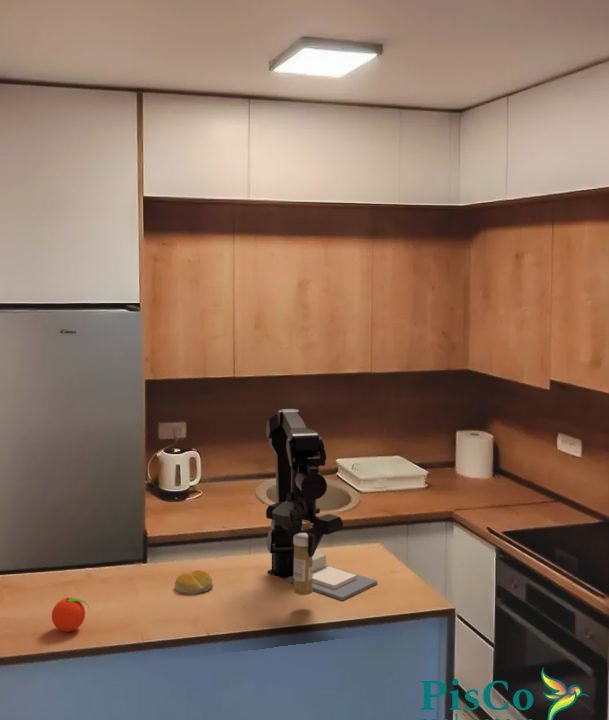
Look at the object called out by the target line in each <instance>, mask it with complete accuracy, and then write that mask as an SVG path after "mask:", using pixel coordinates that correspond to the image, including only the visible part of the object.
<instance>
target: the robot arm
mask: <svg viewBox="0 0 609 720" xmlns="http://www.w3.org/2000/svg"><path fill="white" fill-rule="evenodd" d="M265 434H266V435H265V436H266V439H268V446H269V447H270V449H271V450H272V452H273V453H274V455H275V456H274V457H275V458H274V461H275V490H276V493H275V494H276V497H275V498H276V503H273V504H269V505H268V506H267V508H266V510H265V518H266V519H269V520H271V521H270V529H269V531H268V534H267V537H266V547H267V550H268V552H269V554H271V568H270V569H269V570H267V572H266V573H267V574H270V575H272V576H275V577H277V578H282V579H285V580H286V578H288V577H290V576H293V575H294V543H293V537H294V535H295V534H298V533H306V534H307V535H308V553H309V557H312V556H313V555H314V554H315V553H316V551H317V549H318V546H319V544H320V543H321V540H322V538H323V537H324V535H326V536H327V535H331V534H333V533H336V532H339V531H341V530H343V529H344V526H343V525H344V521H343V519H342V518H341V516H338V515H335V514H332V513H331V514H330V513H327V514H323V515H321V516H318V514H320V513H321V509H320V507H319V508H318V507H317V500H319V499H320V498H322V497H323V496H324V495H325V494H326V492H327V490H328V489H327V488H328V482H327V481H326V479H325V477H324V476H323V475H322V474H321V473H320V471H319V467H324V466H326V461H327V453H326V449H325V443H324V441H323V439H322V437H321V436H320V435H319V433H318V432H317V430H314V429H310V428H307V426H306V425H305V423H304V421H303V419H302V418H301V416H300V411H299V409H296V408H281V409H278V410H277V413H276V414H275V415H273V416H271V417H269V418H268V420H267V423H266V425H265ZM303 522H304V523H307V524H310V526H309V527H310V528H308V529H305V530H303V529H304V528H303Z"/></svg>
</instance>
